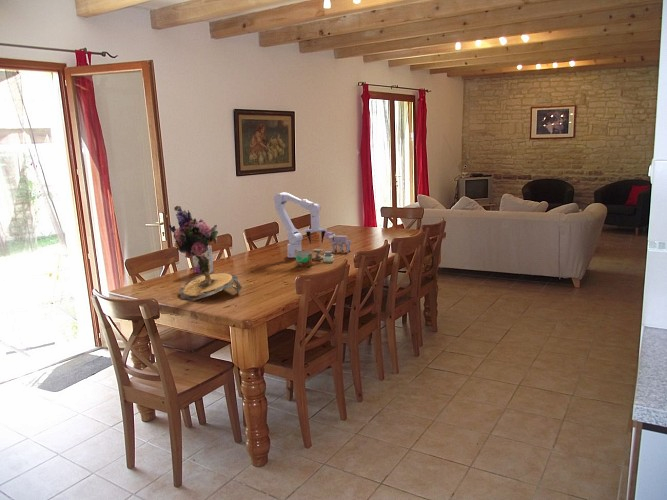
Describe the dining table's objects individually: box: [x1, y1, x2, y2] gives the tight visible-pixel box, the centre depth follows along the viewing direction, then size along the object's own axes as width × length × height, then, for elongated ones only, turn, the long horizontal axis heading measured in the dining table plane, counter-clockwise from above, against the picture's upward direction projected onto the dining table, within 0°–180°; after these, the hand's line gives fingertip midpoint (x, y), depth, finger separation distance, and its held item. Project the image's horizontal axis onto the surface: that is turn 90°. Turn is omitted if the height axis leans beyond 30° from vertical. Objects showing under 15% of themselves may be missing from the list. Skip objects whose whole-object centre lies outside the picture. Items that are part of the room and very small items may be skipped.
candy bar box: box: [191, 245, 215, 274], centre depth 321 cm, size 11×5×16 cm, turn 74°
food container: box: [294, 249, 314, 268], centre depth 329 cm, size 12×6×10 cm, turn 62°
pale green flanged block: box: [323, 253, 334, 263], centre depth 342 cm, size 6×8×4 cm
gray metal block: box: [324, 250, 333, 257], centre depth 342 cm, size 4×4×5 cm
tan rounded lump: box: [312, 248, 324, 261], centre depth 349 cm, size 8×8×6 cm
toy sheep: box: [324, 231, 352, 254], centre depth 371 cm, size 20×11×14 cm, turn 72°
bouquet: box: [168, 205, 243, 302], centre depth 275 cm, size 33×44×45 cm
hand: (316, 242), depth 351 cm, fingers open, 7 cm apart
